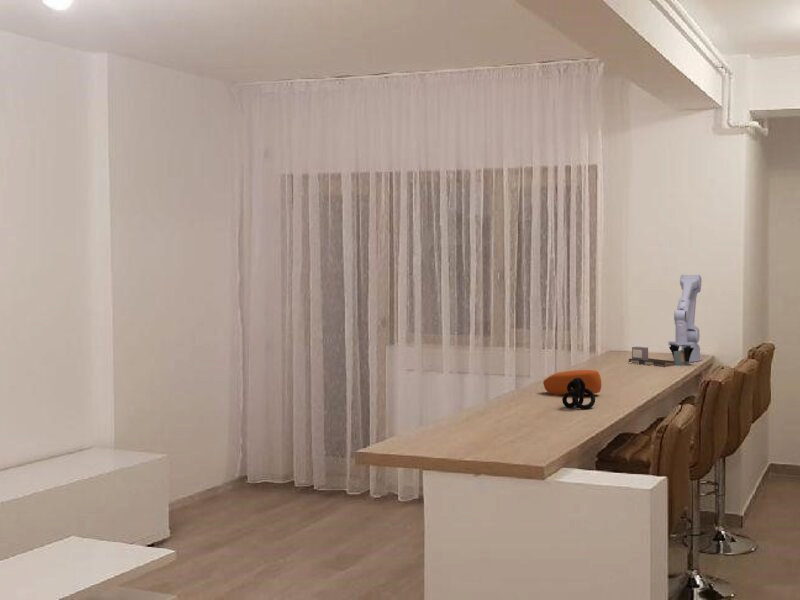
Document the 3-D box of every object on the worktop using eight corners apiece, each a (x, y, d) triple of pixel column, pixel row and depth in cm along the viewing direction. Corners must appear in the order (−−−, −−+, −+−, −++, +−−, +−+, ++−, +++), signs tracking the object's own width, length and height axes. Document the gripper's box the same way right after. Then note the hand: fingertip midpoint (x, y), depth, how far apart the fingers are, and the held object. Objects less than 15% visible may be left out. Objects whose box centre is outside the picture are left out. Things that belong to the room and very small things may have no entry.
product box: (673, 365, 539) (673, 351, 539) (682, 363, 543) (682, 350, 543) (680, 366, 536) (680, 351, 535) (689, 364, 540) (689, 350, 540)
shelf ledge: (638, 361, 555) (638, 357, 555) (674, 365, 538) (674, 361, 537) (628, 363, 550) (628, 358, 550) (663, 367, 533) (663, 362, 532)
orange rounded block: (540, 399, 456) (597, 396, 444) (537, 374, 456) (594, 370, 443) (550, 395, 466) (606, 392, 454) (547, 370, 466) (603, 367, 454)
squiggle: (579, 422, 422) (580, 397, 434) (597, 408, 416) (599, 383, 428) (557, 405, 419) (559, 381, 431) (575, 391, 413) (577, 367, 425)
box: (637, 360, 553) (637, 346, 553) (648, 361, 548) (648, 347, 547) (631, 360, 551) (631, 347, 550) (642, 362, 545) (642, 348, 545)
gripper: (664, 333, 542) (664, 360, 543) (688, 335, 530) (688, 363, 531) (673, 332, 546) (673, 359, 547) (697, 334, 535) (697, 361, 536)
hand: (681, 361), depth 540 cm, fingers open, 6 cm apart
